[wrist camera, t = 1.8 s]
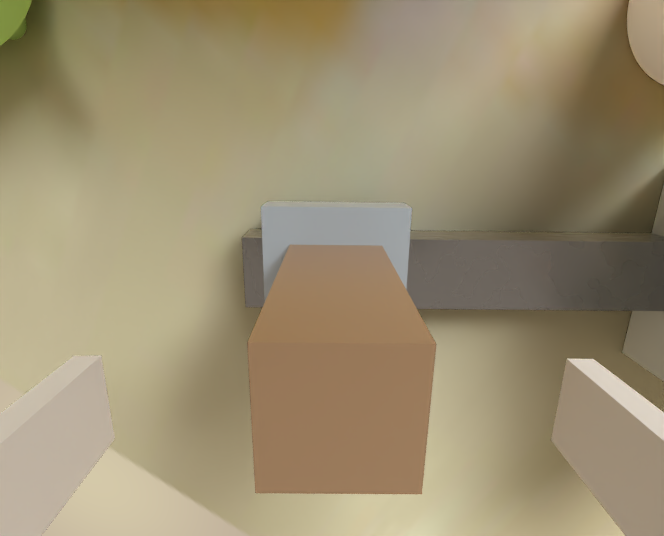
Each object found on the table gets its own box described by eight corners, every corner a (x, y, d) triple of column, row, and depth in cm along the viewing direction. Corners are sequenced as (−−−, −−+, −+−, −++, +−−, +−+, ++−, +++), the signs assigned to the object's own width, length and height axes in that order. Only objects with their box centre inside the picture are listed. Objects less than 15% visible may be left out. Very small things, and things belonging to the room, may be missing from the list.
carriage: (272, 196, 22) (183, 267, 9) (398, 198, 22) (501, 271, 9) (276, 329, 24) (211, 544, 11) (390, 330, 24) (463, 545, 11)
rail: (250, 228, 24) (241, 237, 21) (651, 233, 24) (687, 242, 21) (253, 291, 25) (245, 307, 22) (636, 295, 25) (668, 311, 22)
